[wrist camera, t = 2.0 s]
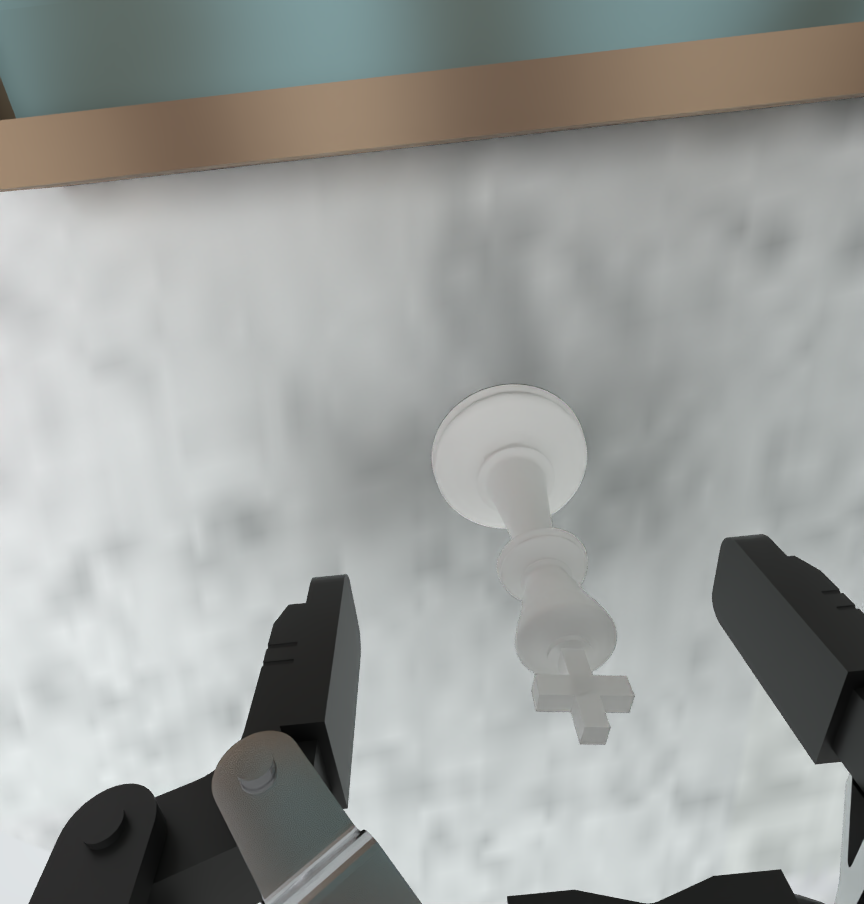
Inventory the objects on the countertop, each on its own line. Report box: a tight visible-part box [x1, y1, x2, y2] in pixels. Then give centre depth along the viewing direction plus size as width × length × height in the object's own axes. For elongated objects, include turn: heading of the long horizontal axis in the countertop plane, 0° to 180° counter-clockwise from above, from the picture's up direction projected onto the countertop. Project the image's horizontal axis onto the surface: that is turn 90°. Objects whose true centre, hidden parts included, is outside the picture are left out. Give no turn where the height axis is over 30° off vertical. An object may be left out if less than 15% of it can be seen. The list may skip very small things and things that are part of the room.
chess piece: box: [431, 384, 635, 745], centre depth 14 cm, size 5×5×10 cm
